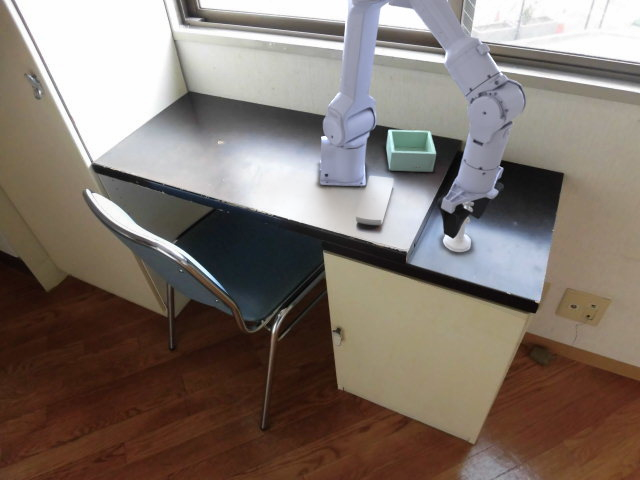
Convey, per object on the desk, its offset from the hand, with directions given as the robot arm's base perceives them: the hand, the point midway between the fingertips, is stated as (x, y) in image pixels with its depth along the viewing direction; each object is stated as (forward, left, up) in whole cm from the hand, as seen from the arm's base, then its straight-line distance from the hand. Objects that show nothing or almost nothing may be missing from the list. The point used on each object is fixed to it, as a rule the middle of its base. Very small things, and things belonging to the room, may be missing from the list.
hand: (462, 225), depth 83 cm
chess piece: (0, 0, -5) cm, 5 cm away
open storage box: (-6, +27, -4) cm, 28 cm away
